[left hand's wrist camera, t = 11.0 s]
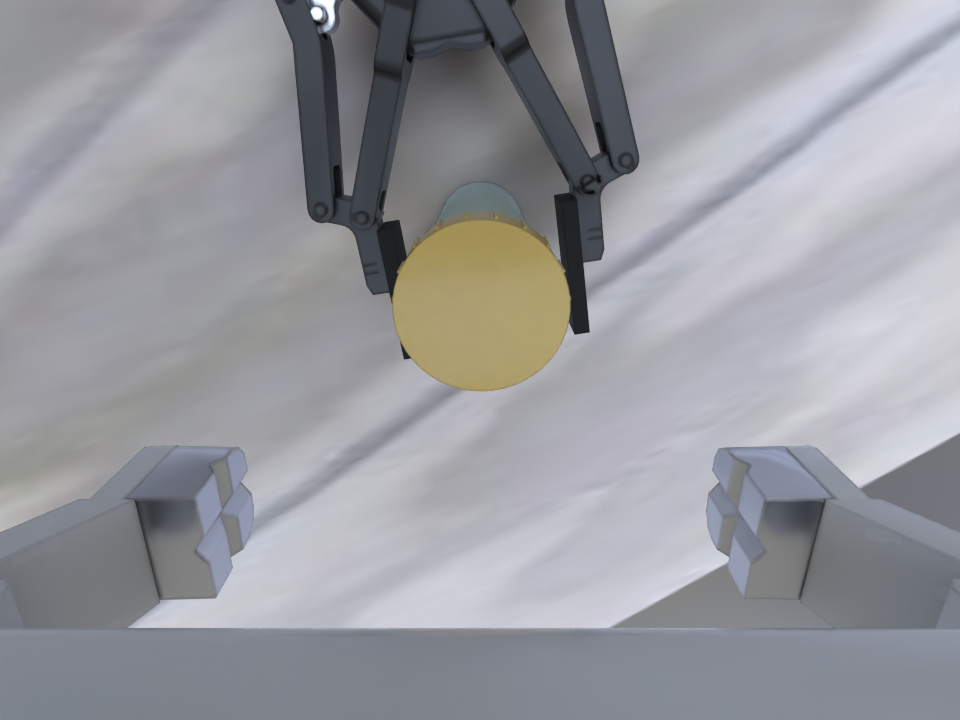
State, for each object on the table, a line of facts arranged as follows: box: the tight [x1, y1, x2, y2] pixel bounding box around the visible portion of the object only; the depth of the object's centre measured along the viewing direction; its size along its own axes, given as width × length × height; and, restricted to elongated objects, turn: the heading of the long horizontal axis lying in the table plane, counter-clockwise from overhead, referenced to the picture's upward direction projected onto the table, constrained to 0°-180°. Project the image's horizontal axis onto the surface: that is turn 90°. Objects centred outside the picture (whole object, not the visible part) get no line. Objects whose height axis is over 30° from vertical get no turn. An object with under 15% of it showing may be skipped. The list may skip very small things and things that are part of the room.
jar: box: [436, 182, 526, 224], centre depth 28 cm, size 5×5×17 cm
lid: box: [392, 210, 571, 391], centre depth 20 cm, size 6×6×2 cm
